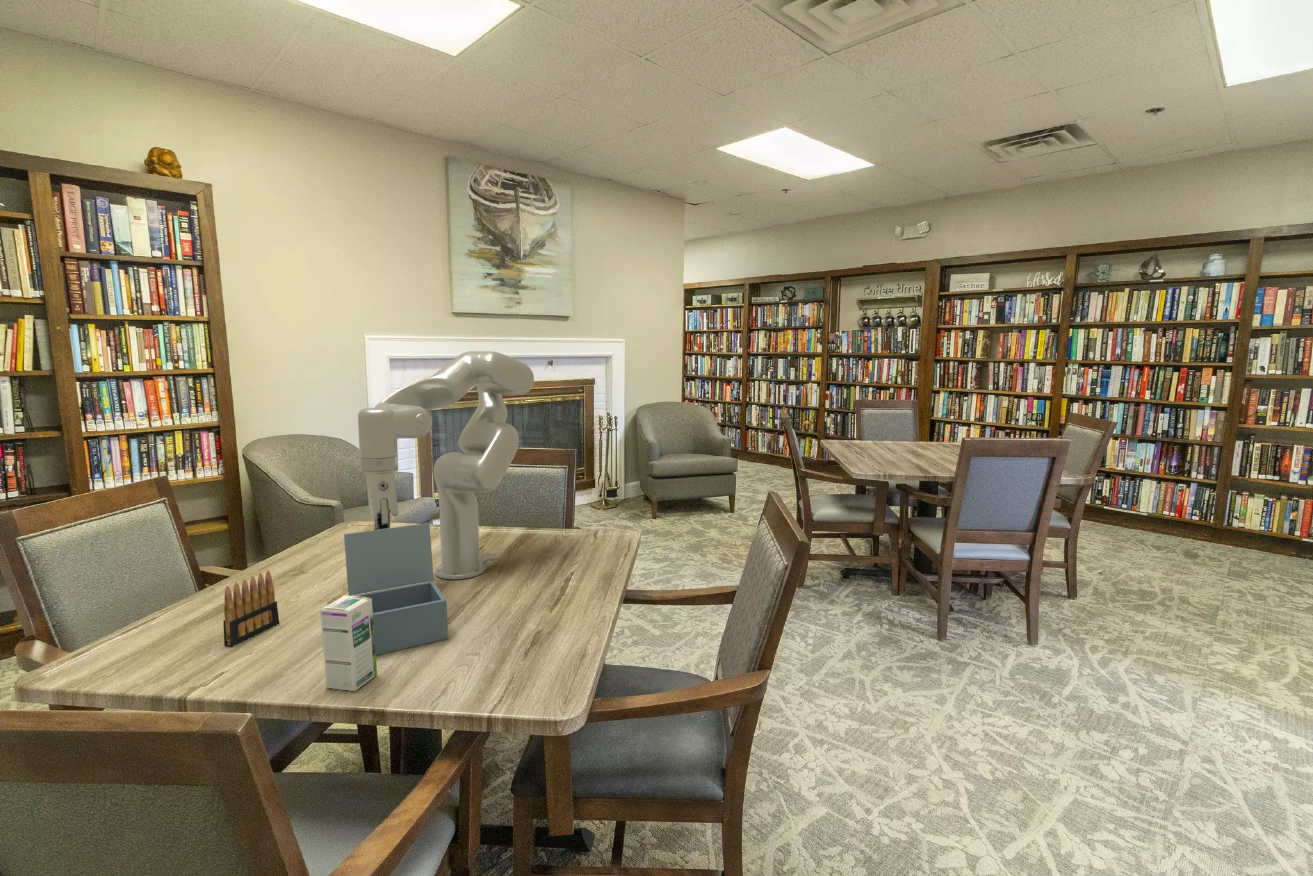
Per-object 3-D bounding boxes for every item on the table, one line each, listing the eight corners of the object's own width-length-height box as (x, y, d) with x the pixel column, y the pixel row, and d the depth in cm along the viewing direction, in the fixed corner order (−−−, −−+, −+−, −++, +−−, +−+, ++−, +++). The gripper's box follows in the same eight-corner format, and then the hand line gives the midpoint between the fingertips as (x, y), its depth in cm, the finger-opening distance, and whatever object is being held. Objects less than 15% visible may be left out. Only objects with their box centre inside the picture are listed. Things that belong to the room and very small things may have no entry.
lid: (433, 580, 128) (432, 579, 129) (429, 523, 128) (428, 523, 129) (348, 595, 120) (348, 595, 120) (344, 534, 120) (343, 534, 121)
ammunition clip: (272, 622, 125) (268, 568, 123) (279, 624, 125) (275, 569, 123) (224, 646, 115) (218, 586, 113) (231, 647, 114) (226, 587, 113)
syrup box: (355, 693, 99) (350, 610, 97) (324, 688, 100) (319, 607, 98) (377, 675, 105) (373, 597, 103) (348, 671, 106) (343, 594, 104)
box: (434, 616, 129) (433, 581, 128) (447, 638, 119) (446, 600, 118) (352, 633, 120) (350, 596, 119) (359, 659, 110) (356, 618, 109)
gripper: (403, 468, 125) (407, 552, 127) (392, 458, 138) (396, 535, 140) (364, 471, 121) (368, 558, 123) (356, 460, 134) (360, 539, 136)
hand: (383, 545), depth 132 cm, fingers closed
